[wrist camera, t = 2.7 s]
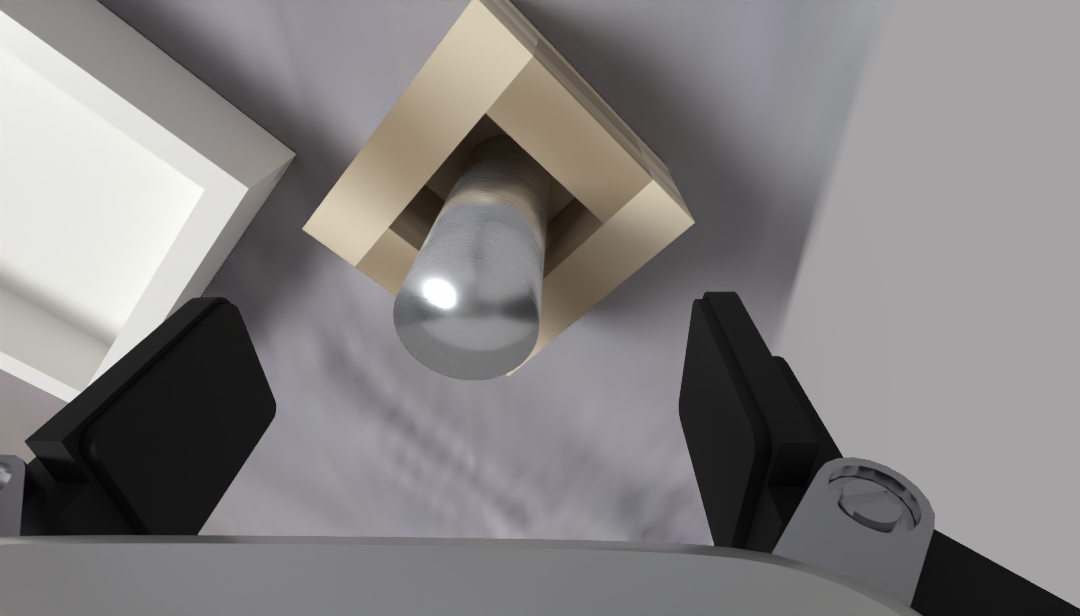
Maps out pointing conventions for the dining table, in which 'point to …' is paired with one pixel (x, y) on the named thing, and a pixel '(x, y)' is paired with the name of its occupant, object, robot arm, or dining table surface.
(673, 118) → the dining table surface
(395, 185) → the tan hollow square block
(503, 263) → the pin
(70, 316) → the tray
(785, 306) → the dining table surface
